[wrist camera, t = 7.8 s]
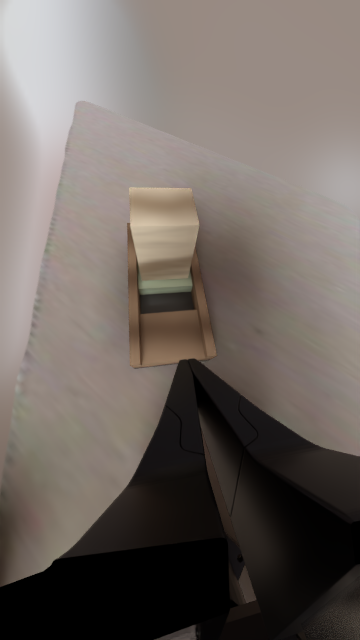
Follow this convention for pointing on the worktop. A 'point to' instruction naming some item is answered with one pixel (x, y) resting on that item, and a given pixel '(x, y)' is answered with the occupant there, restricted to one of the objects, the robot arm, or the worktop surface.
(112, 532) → the robot arm
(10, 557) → the worktop surface
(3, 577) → the worktop surface
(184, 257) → the block
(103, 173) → the worktop surface
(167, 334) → the track
